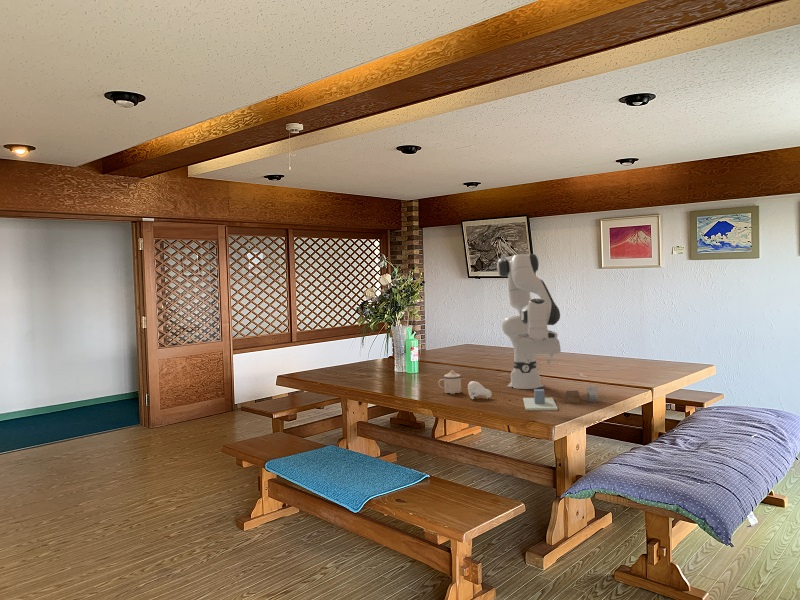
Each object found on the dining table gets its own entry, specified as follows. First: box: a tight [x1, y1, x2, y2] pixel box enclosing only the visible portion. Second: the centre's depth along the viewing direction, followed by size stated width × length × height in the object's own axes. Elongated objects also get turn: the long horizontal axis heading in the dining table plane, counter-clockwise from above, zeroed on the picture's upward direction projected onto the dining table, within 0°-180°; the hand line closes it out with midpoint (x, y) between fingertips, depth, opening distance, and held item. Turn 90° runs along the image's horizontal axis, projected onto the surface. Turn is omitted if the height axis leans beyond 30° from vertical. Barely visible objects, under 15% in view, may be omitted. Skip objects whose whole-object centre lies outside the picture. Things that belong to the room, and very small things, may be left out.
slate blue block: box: [533, 388, 546, 404], centre depth 279 cm, size 4×4×6 cm
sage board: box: [522, 397, 558, 411], centre depth 279 cm, size 22×14×1 cm, turn 171°
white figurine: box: [467, 380, 493, 400], centre depth 298 cm, size 6×8×12 cm
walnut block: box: [566, 390, 580, 404], centre depth 283 cm, size 5×5×5 cm
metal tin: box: [586, 385, 599, 403], centre depth 282 cm, size 5×5×7 cm
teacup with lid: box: [437, 370, 462, 395], centre depth 315 cm, size 12×9×12 cm
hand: (538, 363), depth 278 cm, fingers open, 8 cm apart
